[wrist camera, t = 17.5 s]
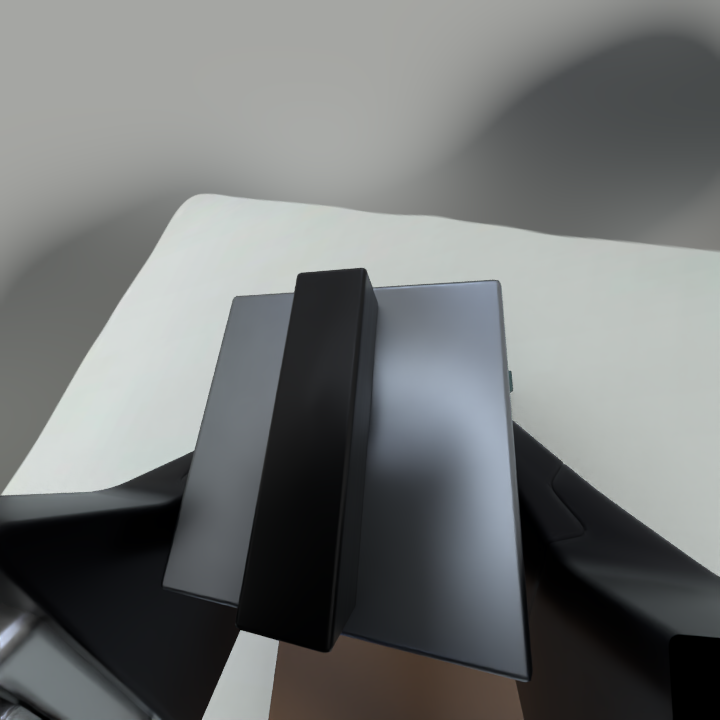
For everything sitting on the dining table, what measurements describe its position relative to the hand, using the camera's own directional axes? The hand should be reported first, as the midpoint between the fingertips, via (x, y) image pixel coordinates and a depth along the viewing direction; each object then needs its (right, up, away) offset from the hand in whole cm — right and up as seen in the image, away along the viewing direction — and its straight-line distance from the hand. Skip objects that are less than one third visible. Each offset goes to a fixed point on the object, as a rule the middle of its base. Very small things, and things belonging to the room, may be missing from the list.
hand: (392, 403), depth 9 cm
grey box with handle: (+1, -3, +6) cm, 7 cm away
